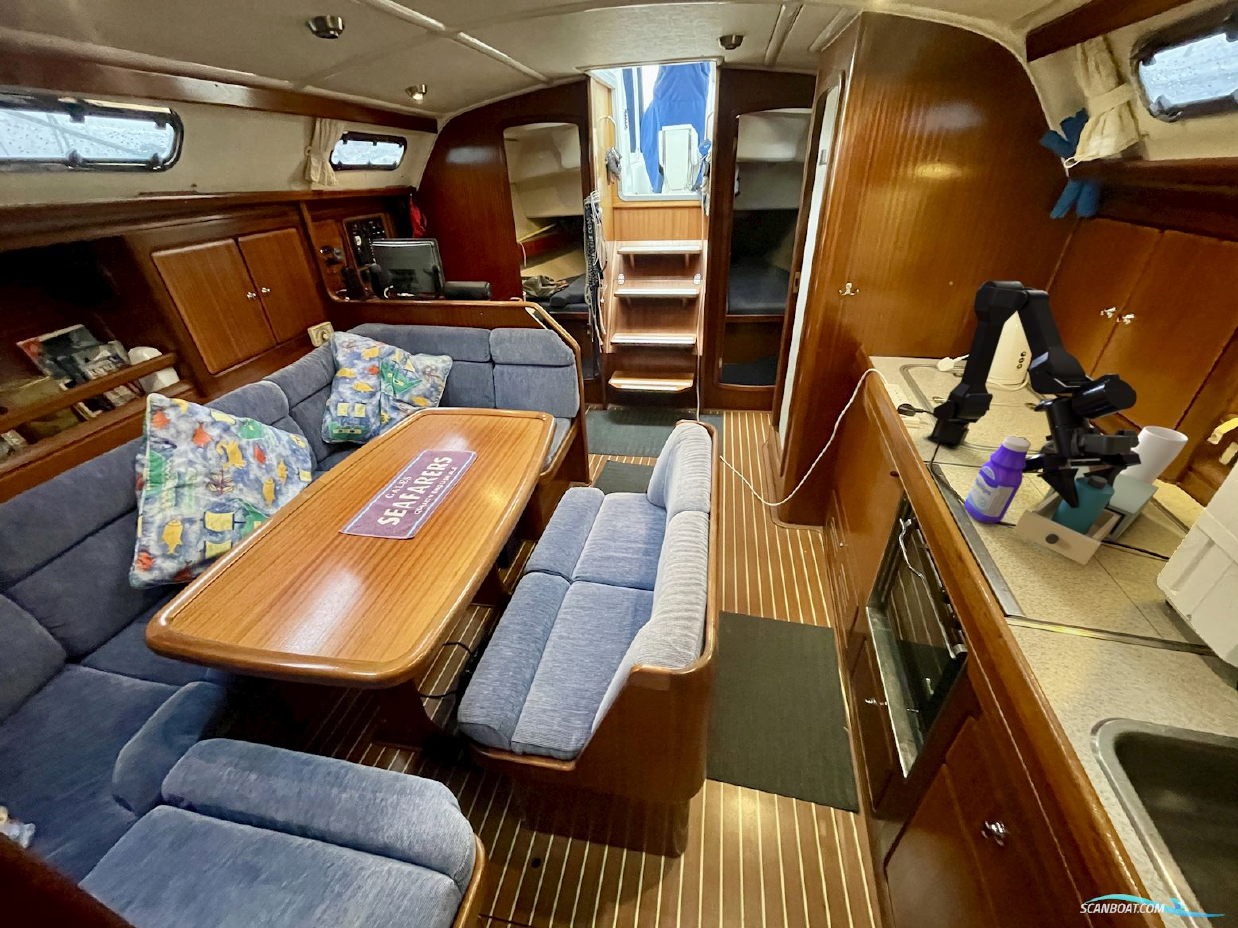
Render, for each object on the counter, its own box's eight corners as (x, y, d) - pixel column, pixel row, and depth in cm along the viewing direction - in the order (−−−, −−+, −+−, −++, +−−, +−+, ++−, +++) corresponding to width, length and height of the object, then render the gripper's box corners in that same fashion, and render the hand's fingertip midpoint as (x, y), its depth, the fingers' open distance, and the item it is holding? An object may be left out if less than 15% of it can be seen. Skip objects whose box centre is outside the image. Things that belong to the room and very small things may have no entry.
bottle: (956, 503, 103) (990, 431, 94) (983, 504, 103) (1020, 432, 94) (977, 525, 97) (1015, 450, 87) (1005, 525, 97) (1047, 451, 87)
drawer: (1082, 568, 85) (1096, 547, 83) (1009, 533, 93) (1021, 513, 91) (1112, 535, 93) (1126, 516, 90) (1043, 506, 101) (1054, 487, 98)
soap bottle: (1045, 523, 94) (1074, 476, 88) (1057, 513, 97) (1085, 467, 91) (1081, 539, 90) (1113, 491, 84) (1092, 528, 93) (1124, 481, 87)
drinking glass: (1153, 503, 103) (1198, 443, 95) (1116, 499, 104) (1158, 439, 96) (1131, 486, 109) (1172, 427, 101) (1097, 482, 110) (1135, 424, 102)
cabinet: (1114, 540, 93) (1134, 513, 89) (1038, 507, 102) (1053, 481, 98) (1140, 513, 100) (1159, 487, 97) (1067, 484, 109) (1082, 459, 106)
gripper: (1063, 414, 84) (1086, 503, 81) (1162, 412, 86) (1189, 499, 82) (1009, 432, 95) (1028, 511, 92) (1098, 430, 96) (1119, 507, 93)
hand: (1090, 507), depth 89 cm, fingers closed on soap bottle, 5 cm apart
